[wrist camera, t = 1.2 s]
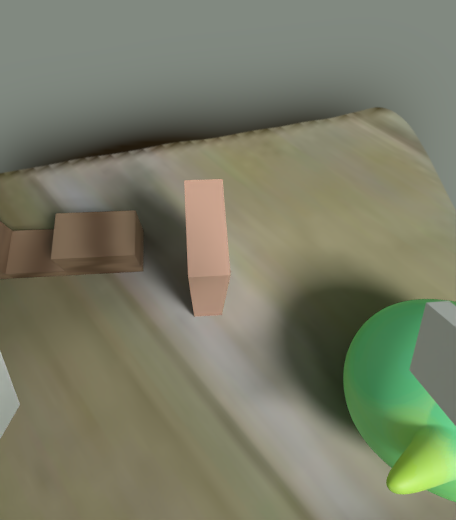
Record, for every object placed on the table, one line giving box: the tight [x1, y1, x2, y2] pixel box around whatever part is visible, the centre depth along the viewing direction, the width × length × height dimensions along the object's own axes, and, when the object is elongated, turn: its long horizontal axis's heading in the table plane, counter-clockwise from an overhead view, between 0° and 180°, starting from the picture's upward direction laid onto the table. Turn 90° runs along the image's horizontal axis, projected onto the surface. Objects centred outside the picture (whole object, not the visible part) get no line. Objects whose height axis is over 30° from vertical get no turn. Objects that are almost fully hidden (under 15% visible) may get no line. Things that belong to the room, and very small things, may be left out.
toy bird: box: [343, 299, 456, 502], centre depth 29 cm, size 18×17×15 cm
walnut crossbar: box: [0, 211, 144, 279], centre depth 36 cm, size 22×5×5 cm, turn 94°
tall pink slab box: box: [184, 179, 230, 317], centre depth 32 cm, size 3×8×14 cm, turn 5°
